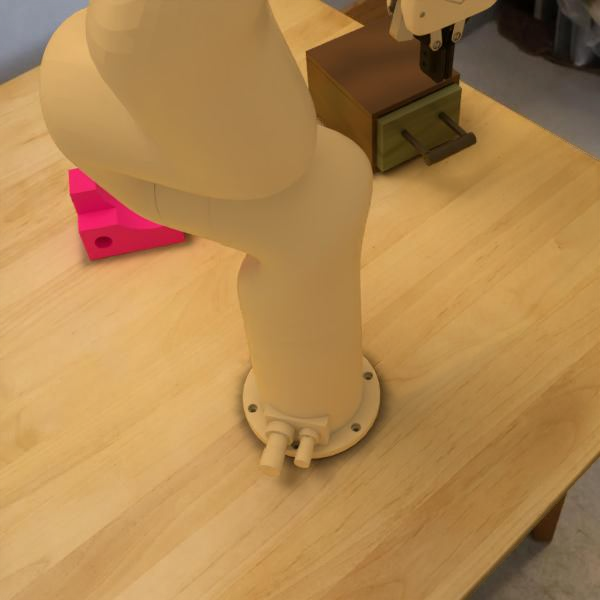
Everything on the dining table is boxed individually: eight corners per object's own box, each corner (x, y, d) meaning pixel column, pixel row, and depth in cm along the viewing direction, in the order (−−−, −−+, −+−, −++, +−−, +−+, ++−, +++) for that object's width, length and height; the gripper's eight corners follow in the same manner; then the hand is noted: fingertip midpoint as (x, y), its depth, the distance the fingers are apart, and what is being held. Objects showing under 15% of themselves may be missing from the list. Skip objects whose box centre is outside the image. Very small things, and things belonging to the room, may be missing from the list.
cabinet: (454, 134, 100) (460, 73, 93) (372, 174, 97) (371, 114, 90) (388, 75, 107) (389, 15, 100) (309, 110, 104) (305, 50, 97)
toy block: (90, 260, 91) (70, 211, 86) (87, 219, 95) (68, 169, 89) (227, 233, 92) (217, 183, 87) (219, 193, 96) (209, 142, 90)
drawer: (489, 164, 95) (495, 116, 90) (412, 202, 92) (414, 155, 87) (395, 80, 105) (396, 32, 100) (323, 112, 102) (320, 65, 97)
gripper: (401, -64, 67) (395, 121, 81) (548, -120, 71) (518, 66, 85) (349, -100, 71) (352, 82, 85) (491, -151, 75) (471, 31, 90)
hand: (435, 73), depth 85 cm, fingers closed
